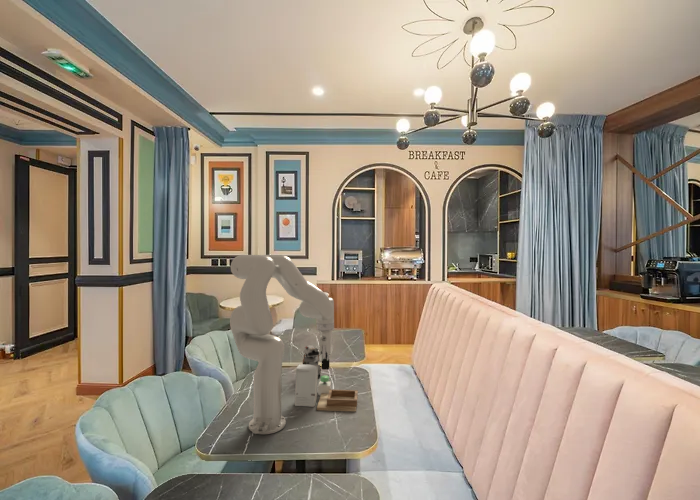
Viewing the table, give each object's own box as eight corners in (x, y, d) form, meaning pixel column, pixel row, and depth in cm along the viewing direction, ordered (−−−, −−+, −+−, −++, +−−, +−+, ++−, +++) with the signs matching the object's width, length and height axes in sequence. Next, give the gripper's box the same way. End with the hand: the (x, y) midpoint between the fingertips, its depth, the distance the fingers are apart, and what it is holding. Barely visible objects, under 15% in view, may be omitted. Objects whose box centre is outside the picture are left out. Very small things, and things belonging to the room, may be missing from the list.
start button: (328, 391, 148) (328, 378, 148) (319, 390, 148) (320, 378, 148) (329, 387, 152) (329, 375, 152) (321, 387, 152) (321, 375, 152)
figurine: (301, 382, 161) (301, 350, 161) (302, 373, 172) (302, 343, 172) (320, 382, 162) (321, 350, 161) (320, 373, 173) (321, 343, 173)
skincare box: (294, 406, 137) (294, 368, 137) (297, 399, 143) (297, 363, 143) (315, 407, 136) (315, 369, 136) (317, 400, 143) (318, 364, 142)
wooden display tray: (356, 411, 133) (356, 402, 133) (316, 410, 134) (316, 401, 134) (357, 396, 146) (357, 388, 146) (321, 395, 147) (321, 387, 147)
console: (329, 395, 147) (329, 386, 147) (318, 395, 148) (318, 385, 148) (331, 390, 152) (331, 381, 152) (319, 390, 153) (319, 381, 152)
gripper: (332, 331, 142) (332, 375, 143) (335, 322, 157) (335, 362, 158) (313, 330, 142) (314, 375, 143) (319, 322, 157) (319, 362, 158)
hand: (325, 368), depth 150 cm, fingers closed
